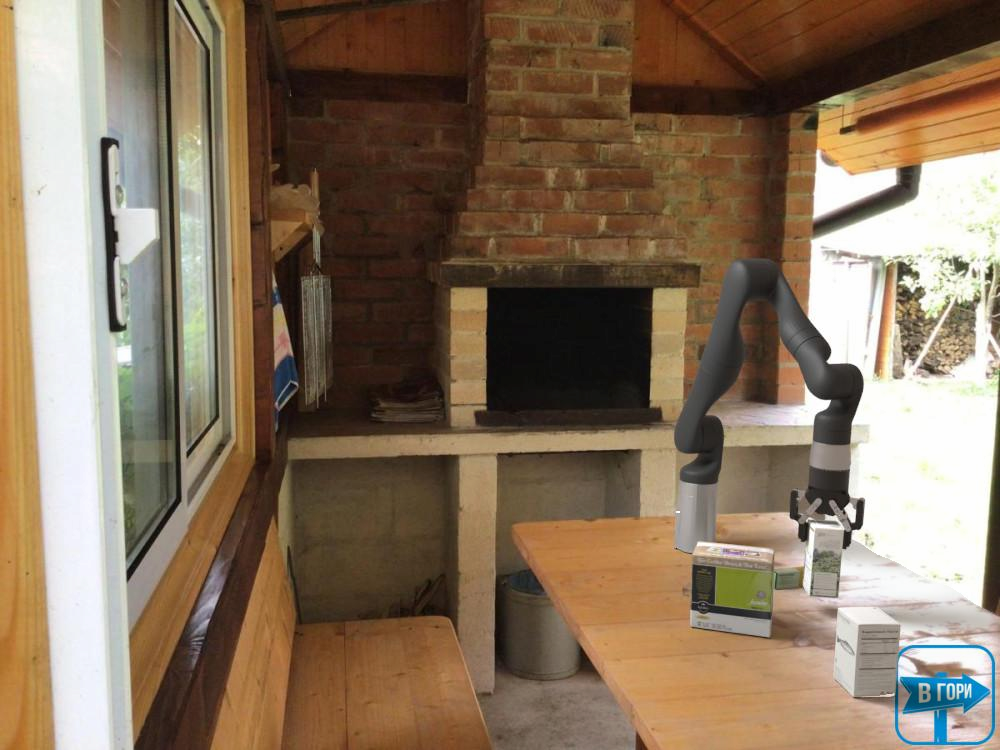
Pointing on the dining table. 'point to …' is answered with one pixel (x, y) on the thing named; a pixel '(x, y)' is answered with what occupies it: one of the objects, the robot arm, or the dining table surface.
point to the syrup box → (823, 558)
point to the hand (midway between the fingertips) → (823, 544)
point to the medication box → (788, 577)
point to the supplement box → (866, 651)
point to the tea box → (732, 588)
